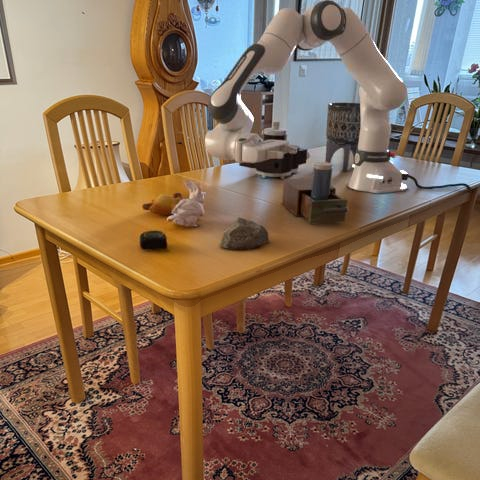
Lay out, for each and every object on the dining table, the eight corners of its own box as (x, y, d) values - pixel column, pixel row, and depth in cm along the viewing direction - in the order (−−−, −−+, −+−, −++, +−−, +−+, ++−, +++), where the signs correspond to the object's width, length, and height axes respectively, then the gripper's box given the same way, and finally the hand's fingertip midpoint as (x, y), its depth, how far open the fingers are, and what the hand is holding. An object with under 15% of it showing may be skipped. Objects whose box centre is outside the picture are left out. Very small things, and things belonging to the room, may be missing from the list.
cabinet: (332, 214, 146) (336, 188, 142) (296, 216, 144) (298, 190, 139) (315, 202, 158) (318, 177, 154) (282, 204, 156) (283, 179, 151)
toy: (137, 206, 138) (152, 192, 151) (146, 225, 141) (160, 210, 154) (170, 195, 135) (182, 182, 148) (178, 215, 138) (190, 200, 150)
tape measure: (140, 253, 115) (139, 239, 113) (141, 243, 121) (140, 229, 119) (167, 252, 116) (166, 238, 114) (167, 242, 122) (166, 229, 120)
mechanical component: (240, 121, 182) (283, 115, 202) (239, 174, 193) (280, 164, 212) (283, 126, 170) (325, 120, 190) (280, 183, 181) (320, 172, 200)
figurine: (213, 220, 138) (213, 178, 132) (181, 233, 128) (179, 188, 121) (193, 215, 142) (192, 174, 136) (160, 228, 132) (157, 183, 125)
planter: (314, 167, 208) (320, 104, 195) (332, 161, 222) (339, 101, 209) (354, 174, 199) (364, 107, 185) (370, 166, 213) (380, 104, 199)
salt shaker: (318, 210, 144) (323, 161, 136) (330, 214, 140) (337, 164, 132) (305, 213, 141) (309, 163, 133) (317, 217, 137) (323, 166, 129)
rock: (254, 234, 128) (255, 211, 124) (276, 243, 122) (277, 220, 119) (217, 245, 120) (217, 221, 117) (238, 255, 115) (239, 231, 111)
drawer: (352, 227, 133) (355, 204, 130) (316, 229, 131) (318, 206, 127) (327, 209, 149) (329, 188, 145) (294, 210, 146) (296, 189, 143)
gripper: (265, 153, 153) (302, 158, 147) (233, 163, 138) (273, 169, 132) (266, 133, 150) (304, 137, 144) (233, 141, 134) (274, 146, 128)
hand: (289, 152), depth 137 cm, fingers open, 8 cm apart
